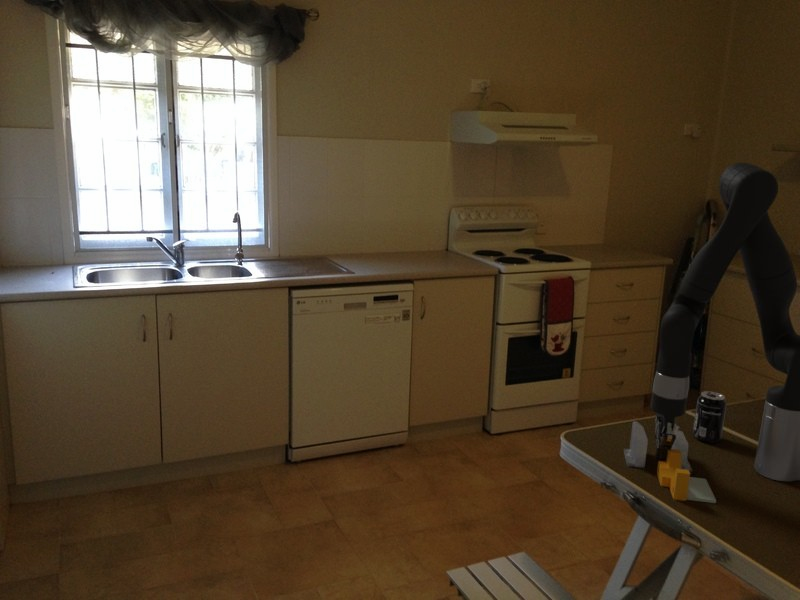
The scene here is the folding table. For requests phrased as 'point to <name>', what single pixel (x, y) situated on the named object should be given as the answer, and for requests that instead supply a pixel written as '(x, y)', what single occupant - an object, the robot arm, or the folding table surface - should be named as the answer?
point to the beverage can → (709, 416)
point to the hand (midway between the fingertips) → (660, 461)
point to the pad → (699, 490)
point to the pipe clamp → (674, 475)
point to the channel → (639, 447)
